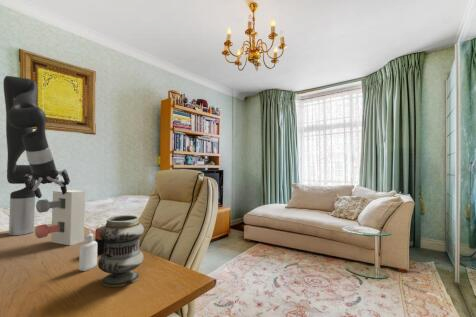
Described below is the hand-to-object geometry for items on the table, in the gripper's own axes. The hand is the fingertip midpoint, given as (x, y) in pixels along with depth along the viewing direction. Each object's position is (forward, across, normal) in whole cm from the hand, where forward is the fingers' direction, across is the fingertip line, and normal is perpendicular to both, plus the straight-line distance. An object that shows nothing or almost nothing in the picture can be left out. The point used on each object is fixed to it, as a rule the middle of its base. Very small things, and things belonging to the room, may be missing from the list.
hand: (52, 195), depth 102 cm
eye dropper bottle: (+9, -16, +37) cm, 41 cm away
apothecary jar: (+6, -27, +48) cm, 56 cm away
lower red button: (+14, +3, +8) cm, 16 cm away
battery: (+16, -19, +23) cm, 34 cm away
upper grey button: (+5, +1, +4) cm, 6 cm away
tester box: (+21, -2, +4) cm, 22 cm away
